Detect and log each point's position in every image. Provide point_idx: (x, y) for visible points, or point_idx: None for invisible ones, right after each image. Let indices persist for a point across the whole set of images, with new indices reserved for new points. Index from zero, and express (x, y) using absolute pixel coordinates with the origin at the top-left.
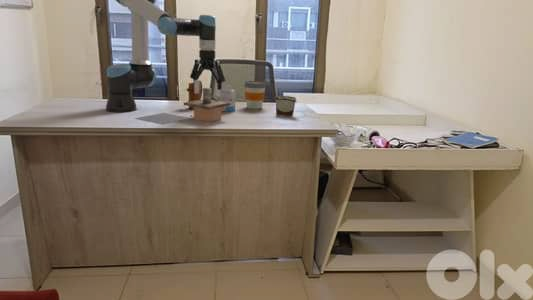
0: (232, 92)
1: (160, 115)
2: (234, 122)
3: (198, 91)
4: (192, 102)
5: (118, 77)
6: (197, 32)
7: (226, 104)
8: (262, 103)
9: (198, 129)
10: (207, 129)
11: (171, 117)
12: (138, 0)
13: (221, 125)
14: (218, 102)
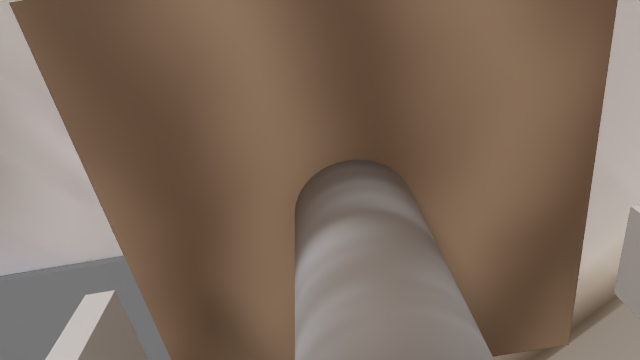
0: None
1: (32, 354)
2: (632, 8)
3: (112, 334)
4: (231, 335)
5: None
6: None
7: (604, 7)
8: None
9: (532, 356)
10: (579, 322)
11: (144, 332)
12: None
13: (593, 187)
14: (451, 56)
